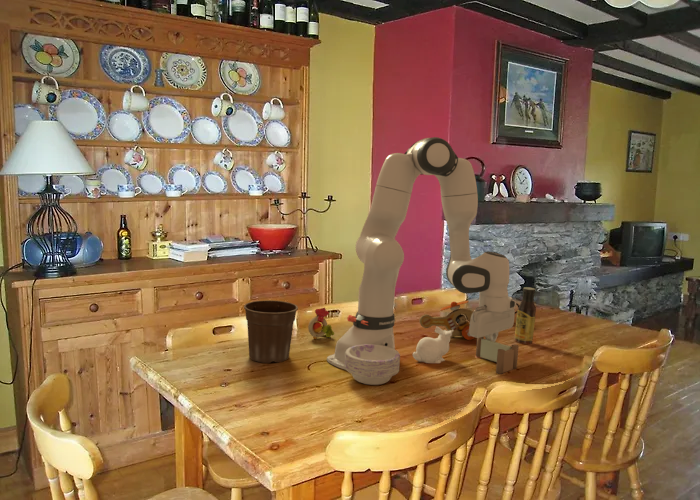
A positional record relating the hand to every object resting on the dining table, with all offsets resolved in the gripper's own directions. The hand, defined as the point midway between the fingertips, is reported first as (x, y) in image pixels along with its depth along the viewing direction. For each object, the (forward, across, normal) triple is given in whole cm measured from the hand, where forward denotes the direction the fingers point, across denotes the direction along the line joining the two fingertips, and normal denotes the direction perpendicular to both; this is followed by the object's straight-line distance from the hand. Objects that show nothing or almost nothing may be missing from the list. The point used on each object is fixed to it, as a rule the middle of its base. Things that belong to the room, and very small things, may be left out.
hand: (490, 346), depth 180 cm
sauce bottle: (+5, +26, +3) cm, 26 cm away
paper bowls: (+4, -43, +10) cm, 45 cm away
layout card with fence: (+4, 0, -5) cm, 7 cm away
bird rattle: (+4, -29, +49) cm, 57 cm away
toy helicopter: (+4, +10, +23) cm, 26 cm away
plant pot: (+3, -55, +43) cm, 70 cm away
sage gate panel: (+4, -2, -2) cm, 5 cm away
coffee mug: (+5, +45, +24) cm, 51 cm away
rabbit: (+4, -16, +9) cm, 19 cm away
